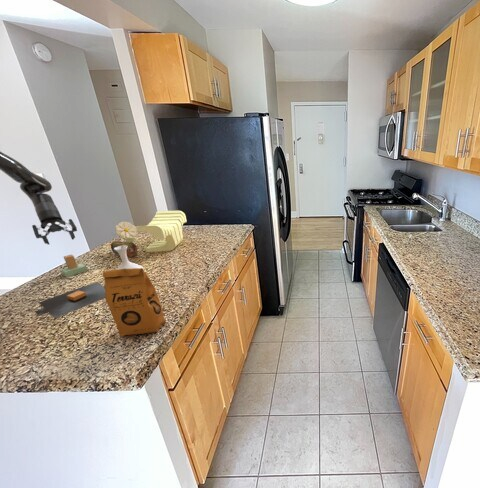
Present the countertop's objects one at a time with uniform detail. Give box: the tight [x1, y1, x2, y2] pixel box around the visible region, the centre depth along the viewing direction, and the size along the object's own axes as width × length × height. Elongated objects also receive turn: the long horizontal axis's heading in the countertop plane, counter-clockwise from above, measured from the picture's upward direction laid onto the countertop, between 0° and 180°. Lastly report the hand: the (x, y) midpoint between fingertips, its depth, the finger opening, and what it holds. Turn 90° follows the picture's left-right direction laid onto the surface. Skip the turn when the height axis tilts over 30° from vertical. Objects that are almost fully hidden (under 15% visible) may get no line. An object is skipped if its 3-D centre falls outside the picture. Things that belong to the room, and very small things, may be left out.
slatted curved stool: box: [134, 209, 187, 253], centre depth 148 cm, size 30×16×18 cm, turn 6°
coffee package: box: [102, 268, 166, 337], centre depth 82 cm, size 10×12×22 cm
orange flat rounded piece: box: [67, 290, 86, 301], centre depth 101 cm, size 4×4×2 cm
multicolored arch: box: [110, 239, 139, 258], centre depth 138 cm, size 15×3×8 cm, turn 76°
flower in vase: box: [112, 221, 144, 270], centre depth 116 cm, size 13×11×25 cm
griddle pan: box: [34, 281, 106, 319], centre depth 101 cm, size 23×18×1 cm
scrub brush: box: [59, 254, 88, 278], centre depth 121 cm, size 8×5×8 cm, turn 149°
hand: (61, 241), depth 123 cm, fingers open, 8 cm apart
